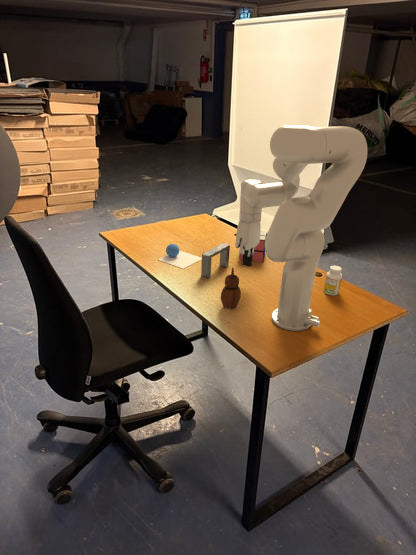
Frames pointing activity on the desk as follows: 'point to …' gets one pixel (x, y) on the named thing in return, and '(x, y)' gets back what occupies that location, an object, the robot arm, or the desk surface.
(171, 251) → the ball
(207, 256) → the bridge
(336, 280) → the supplement bottle
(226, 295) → the wooden figurine
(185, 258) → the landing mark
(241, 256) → the puzzle cube
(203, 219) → the desk surface
